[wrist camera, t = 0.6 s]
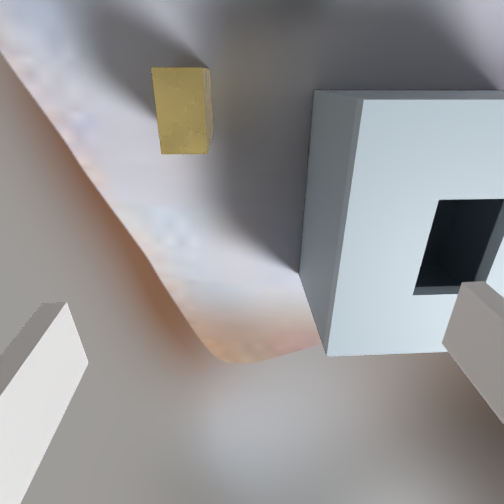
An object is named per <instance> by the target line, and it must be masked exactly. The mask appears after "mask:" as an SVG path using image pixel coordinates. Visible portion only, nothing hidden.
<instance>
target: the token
mask: <svg viewBox="0 0 504 504" xmlns="http://www.w3.org/2000/svg"><path fill="white" fill-rule="evenodd" d="M151 72H152V80H153V89H154V97H155V105H156V113H157V122H158V130H159V138H160V147H161V154H208V150H209V147H210V144H211V140H212V137H213V119H212V99H211V78H210V69H207V68H202V67H151Z"/></svg>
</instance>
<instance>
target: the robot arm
mask: <svg viewBox="0 0 504 504" xmlns="http://www.w3.org/2000/svg"><path fill="white" fill-rule="evenodd" d="M442 344H443V346H444V347H445V348H446V349H447V351H448V352H449V353H450V355H451V356H452V357H453V359H454V360H455V361H456V363H457V364H458V365H459V366H460V368H461V369H462V370H463V372H464V373H465V374H466V376H467V377H468V378H469V380H470V381H471V382H472V384H473V385H474V386H475V387H476V389H477V390H478V391H479V393H480V394H481V395H482V397H483V398H484V399H485V401H486V402H487V403H488V405H489V406H490V407H491V408H492V410H493V411H494V412H495V414H496V415H497V416H498V418H499V419H500V420H501V421H502V423H503V424H504V298H503V297H502V296H501V295H500V294H499V293H497V292H496V291H495V290H494V289H493V288H492V287H490V286H489V285H488V284H487V283H486V282H484V281H477V282H462V284H461V287H460V290H459V293H458V296H457V299H456V302H455V305H454V308H453V311H452V314H451V317H450V320H449V323H448V326H447V329H446V332H445V335H444V337H443V340H442ZM87 365H88V360H87V357H86V355H85V352H84V349H83V346H82V343H81V341H80V338H79V335H78V332H77V330H76V327H75V324H74V321H73V318H72V316H71V313H70V310H69V307H68V304H67V302H58V303H42V304H41V306H40V307H39V308H38V310H37V311H36V312H35V313H34V315H33V316H32V317H31V318H30V319H29V321H28V322H27V323H26V324H25V326H24V327H23V328H22V329H21V331H20V332H19V333H18V334H17V336H16V337H15V338H14V339H13V341H12V342H11V343H10V344H9V346H8V347H7V348H6V349H5V351H4V352H3V353H2V354H1V355H0V504H20V503H21V501H22V499H23V497H24V495H25V493H26V491H27V489H28V487H29V485H30V483H31V481H32V479H33V476H34V474H35V472H36V470H37V468H38V466H39V464H40V462H41V460H42V458H43V456H44V453H45V452H46V450H47V448H48V446H49V443H50V441H51V439H52V437H53V435H54V433H55V431H56V429H57V427H58V425H59V423H60V421H61V419H62V417H63V415H64V413H65V410H66V408H67V406H68V404H69V402H70V400H71V398H72V396H73V394H74V392H75V390H76V388H77V386H78V384H79V382H80V380H81V377H82V375H83V373H84V371H85V369H86V367H87Z"/></svg>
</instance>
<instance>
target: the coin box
mask: <svg viewBox="0 0 504 504" xmlns="http://www.w3.org/2000/svg"><path fill="white" fill-rule="evenodd" d="M299 276H300V279H301V282H302V285H303V288H304V291H305V294H306V297H307V300H308V303H309V306H310V309H311V312H312V315H313V318H314V321H315V324H316V327H317V330H318V333H319V336H320V339H321V341H322V344H323V347H324V350H325V353H326V356H347V355H348V356H350V355H376V354H401V353H425V352H426V353H427V352H448V351H447V349H446V348H445V347H444V346H443V344H442V340H443V337H444V335H445V332H446V329H447V326H448V323H449V320H450V317H451V314H452V311H453V308H454V305H455V302H456V299H457V296H458V293H459V290H460V287H461V284H462V282H477V281H484V282H486V283H487V284H488V285H489V286H490V287H492V288H493V289H494V290H495V291H496V292H497V293H499V294H500V295H501V296H502V297H503V298H504V91H503V90H314V91H313V103H312V116H311V128H310V141H309V153H308V166H307V178H306V190H305V203H304V215H303V228H302V240H301V253H300V265H299Z"/></svg>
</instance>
